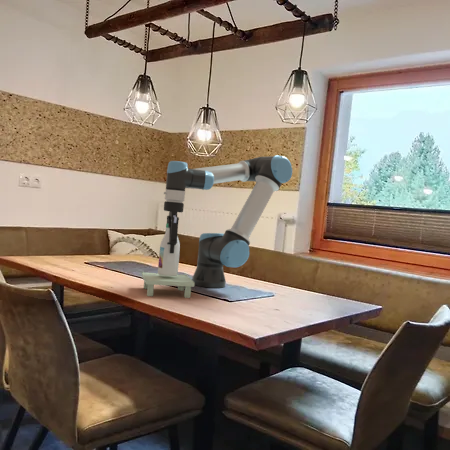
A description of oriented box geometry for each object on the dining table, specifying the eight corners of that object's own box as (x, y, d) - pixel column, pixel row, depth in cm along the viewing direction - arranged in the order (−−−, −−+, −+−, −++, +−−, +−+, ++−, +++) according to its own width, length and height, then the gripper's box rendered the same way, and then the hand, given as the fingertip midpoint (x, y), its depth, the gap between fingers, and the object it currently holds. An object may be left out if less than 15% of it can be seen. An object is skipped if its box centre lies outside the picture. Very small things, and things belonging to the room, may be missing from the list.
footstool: (184, 289, 195) (186, 274, 195) (193, 298, 177) (194, 282, 177) (140, 287, 190) (142, 272, 190) (144, 296, 173) (146, 280, 172)
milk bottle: (180, 275, 186) (184, 224, 186) (173, 277, 179) (178, 224, 178) (161, 272, 188) (165, 222, 187) (154, 275, 180) (159, 222, 180)
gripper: (161, 200, 191) (156, 256, 192) (168, 200, 171) (162, 263, 172) (179, 202, 193) (174, 257, 194) (188, 202, 173) (182, 264, 174)
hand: (168, 260), depth 183 cm, fingers closed on milk bottle, 8 cm apart
